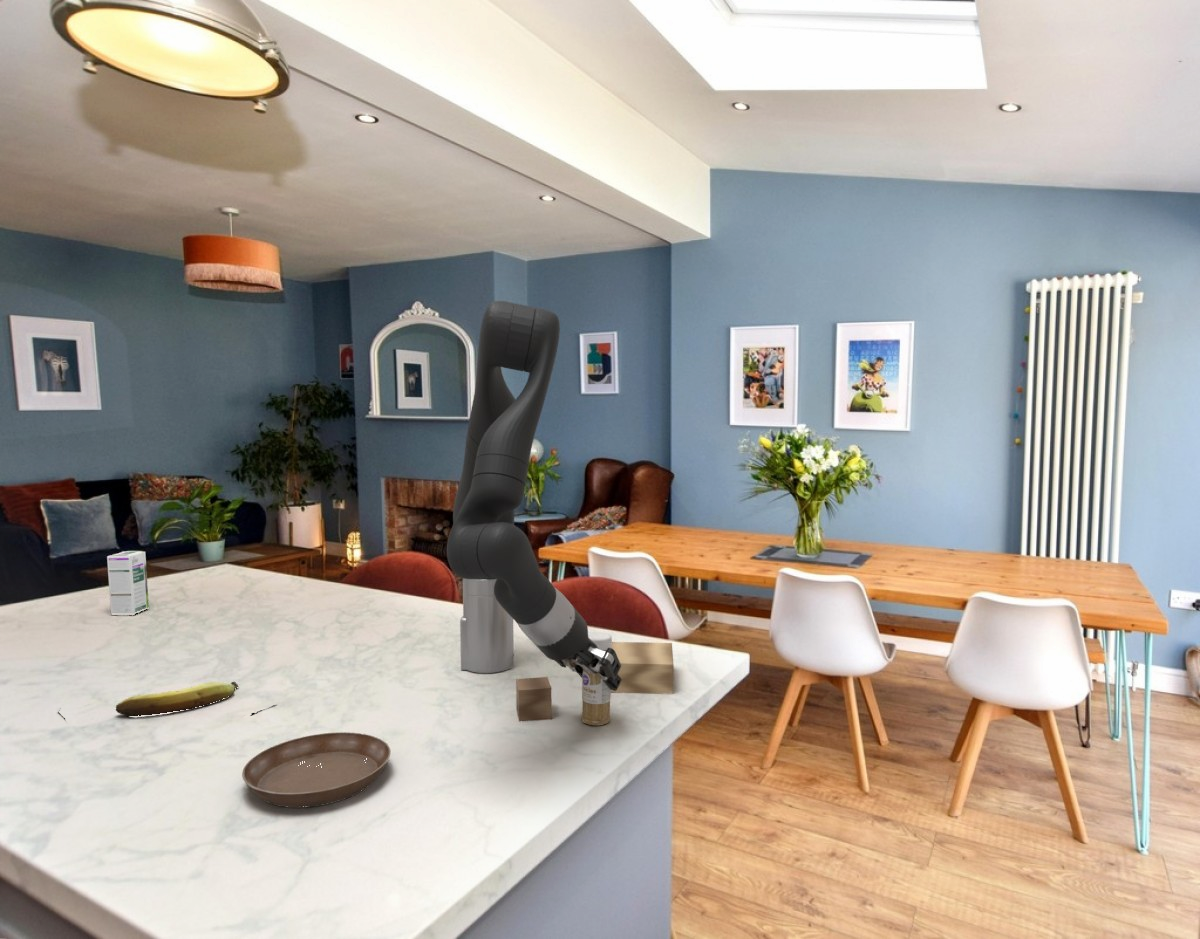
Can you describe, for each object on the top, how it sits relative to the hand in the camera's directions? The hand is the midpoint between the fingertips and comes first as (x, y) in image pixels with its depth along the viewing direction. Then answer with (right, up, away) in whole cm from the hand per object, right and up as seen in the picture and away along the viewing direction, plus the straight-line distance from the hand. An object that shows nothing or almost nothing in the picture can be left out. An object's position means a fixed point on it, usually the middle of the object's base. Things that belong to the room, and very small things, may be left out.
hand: (604, 681), depth 115 cm
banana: (-68, -6, +6) cm, 69 cm away
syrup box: (-113, -2, +63) cm, 129 cm away
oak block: (+6, -4, +16) cm, 18 cm away
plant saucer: (-37, -8, -20) cm, 42 cm away
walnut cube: (-11, -6, +2) cm, 12 cm away
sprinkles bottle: (-1, -6, -1) cm, 6 cm away
